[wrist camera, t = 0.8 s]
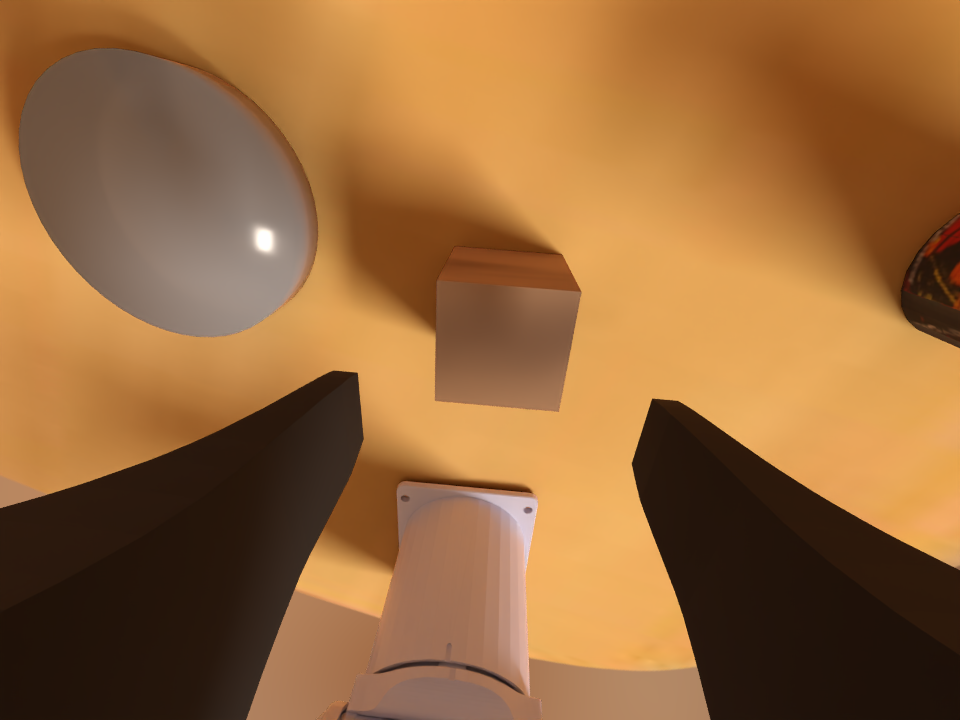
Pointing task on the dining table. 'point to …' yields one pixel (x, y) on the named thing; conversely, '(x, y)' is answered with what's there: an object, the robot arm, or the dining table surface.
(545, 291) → the walnut block
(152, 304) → the grey disc
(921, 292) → the deodorant
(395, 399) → the dining table surface
